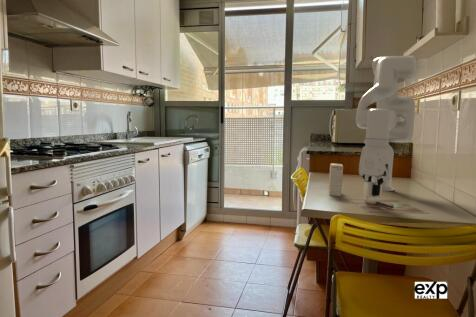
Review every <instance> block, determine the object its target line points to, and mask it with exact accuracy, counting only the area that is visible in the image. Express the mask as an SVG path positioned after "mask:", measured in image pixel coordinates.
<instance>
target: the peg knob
mask: <svg viewBox="0 0 476 317" xmlns="http://www.w3.org/2000/svg"><path fill="white" fill-rule="evenodd" d="M373 185H375V184H374V182H363V188H362V189H363V191H362V197H365V201H364V202H365V203H368V204H380V205H383V206H386V207H390V208H394V206H391V205H388V204H385V203H381V202H379V199H380V198H381V197H382V196H383V191H382V187H383V183H382V185H380V195H379V196H373V195H372V190H373Z"/></svg>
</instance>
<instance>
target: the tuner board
mask: <svg viewBox="0 0 476 317" xmlns="http://www.w3.org/2000/svg"><path fill="white" fill-rule="evenodd" d="M343 198H344V199H346V200H348V201H350V202H351V203H353V204H354V205H357V206H359V207H360V208H362V209H363V210H365V211H367V212H369V213H372V214H373V213H374V214H375V213H378V214H379V213H380V214H415V215H416V214H420V215H423V214H424V215H428V214H430V213H429V212H427V211H425V210H422V209H420V208H417V207H414V206H412V205H409V204H408V203H405V202H402V201H400V200H398V199H395V198H394V197H380V199H379V202H381V203H385V204H388V205H391V206H394V208H390V207H386V206H383V205H380V204H368V203H365V202H364V201H365V196H343Z"/></svg>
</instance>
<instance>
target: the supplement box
mask: <svg viewBox="0 0 476 317" xmlns="http://www.w3.org/2000/svg"><path fill="white" fill-rule="evenodd" d="M343 171H344V165H343V164H342V163H333V162H332V163H330V164H329V174H328V176H329V178H328V191H327V192H328V196H339V197H342V185H343V173H344V172H343Z"/></svg>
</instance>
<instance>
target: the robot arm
mask: <svg viewBox="0 0 476 317" xmlns="http://www.w3.org/2000/svg"><path fill="white" fill-rule="evenodd" d="M417 64H418V62H417V58H416V57H415V56H414V55H387V56H384V55H383V56H379V57H376V58H374V59H373V60H372V64H371V65H372V66H371V68H372V72H373V75H374V79H373V85H372V86H373V87H371V88H370V89H369V90H367V91H365V93H364V94H363V95H362V96H361V98H360V99H359V102H358V105H357V108H356V115H355V123H356V126H357V127H358V128H359V129H363V130H364V129H365V130H366V131H365V139H364V140H363V144H365V145H364V146H363V147H362V149H361V153H360V157H359V163H358V175H359V176H361V178H362V179H363V181H364V182H374V184H375V185H373V190H372V195H373V196H379V195H380V185H382V183H383V187H382V192H393V191H394V190H395V187H394V186H392V177H393V166H394V164H393V163H394V156H395V155H394V152H395V151H394V148H393V147H392V146H391V145H390V143H404V144H405V143H410V142H411V141H412V140H413V137H414V130H415V129H414V127H415V126H414V125H415V116H416V115H415V113H416V102H415V99H414V98H413V97H412V96H411V97H410V96H399V95H398V94H399V83H398V79H412V78H413V77H414V76H415V74H416V72H417ZM374 103H376V108H368V107H369V106H370V105H372V104H374ZM398 119H401V120H402V121H401V120H398ZM364 182H363V183H364Z"/></svg>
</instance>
